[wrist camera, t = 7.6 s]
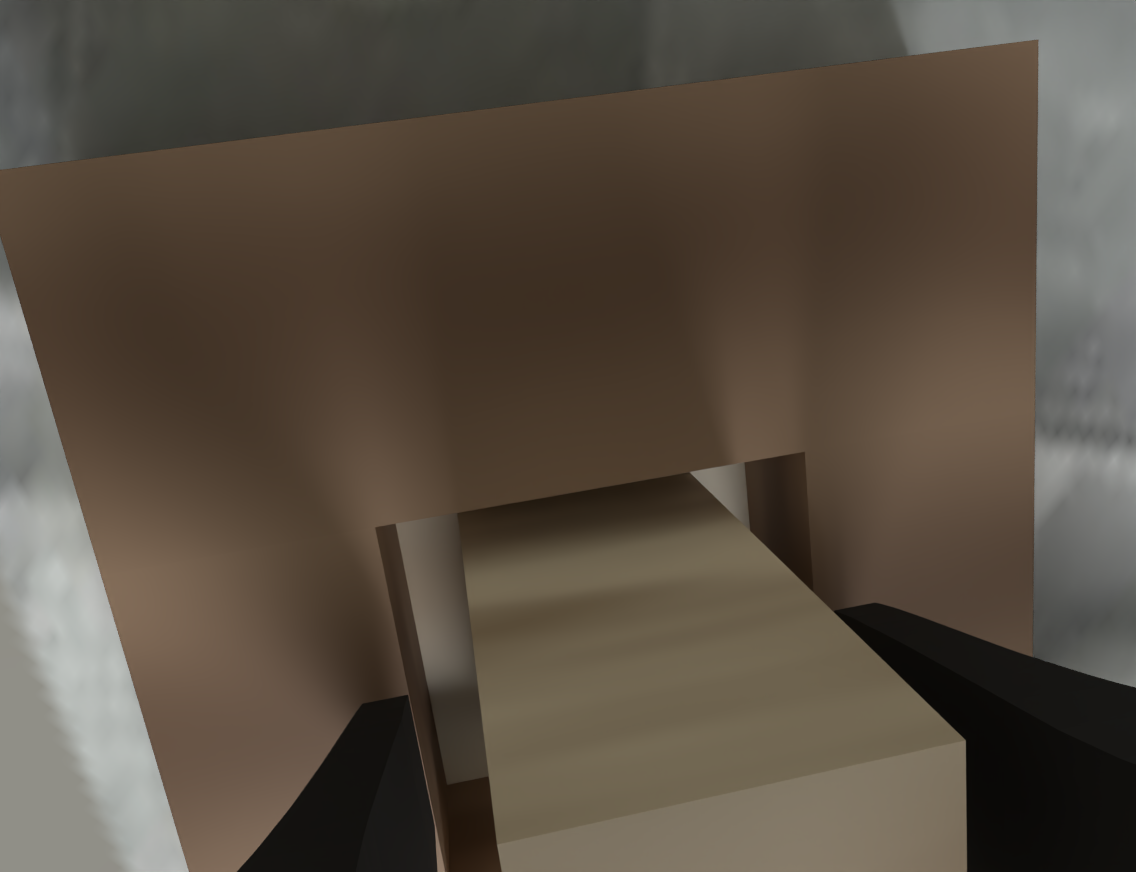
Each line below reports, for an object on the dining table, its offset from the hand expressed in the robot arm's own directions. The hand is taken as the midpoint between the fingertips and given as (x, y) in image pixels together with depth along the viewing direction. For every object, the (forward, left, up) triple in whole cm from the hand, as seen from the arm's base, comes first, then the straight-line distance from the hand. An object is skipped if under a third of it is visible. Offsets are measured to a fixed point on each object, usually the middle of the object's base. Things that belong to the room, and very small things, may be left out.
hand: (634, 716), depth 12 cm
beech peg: (0, 0, -4) cm, 4 cm away
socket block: (0, 0, -4) cm, 4 cm away
